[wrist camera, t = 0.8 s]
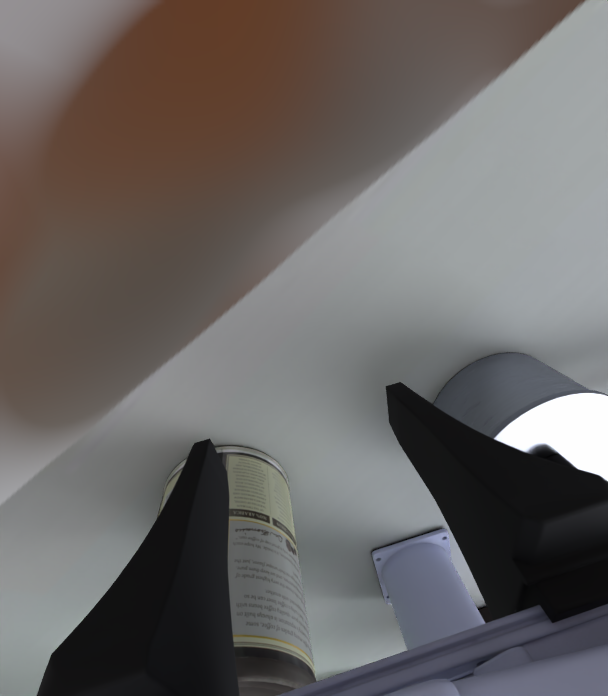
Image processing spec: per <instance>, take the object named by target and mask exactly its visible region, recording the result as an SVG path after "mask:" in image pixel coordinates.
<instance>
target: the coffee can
mask: <svg viewBox="0 0 608 696" xmlns="http://www.w3.org/2000/svg"><path fill="white" fill-rule="evenodd" d="M215 449H216V451H217V453H218V455H219V457H220V459H221V461H222V463H223V465H224V467H225V469H226V471H227V475H228V485H229V534H228V579H229V594H230V607H231V620H232V631H233V641H234V652H235V662H236V670H237V679H238V687H239V696H278V695H280V694H283V693H286V692H289V691H292V690H295V689H298V688H301V687H303V686H306V685H309V684H312V683H315V682H316V677H315V670H314V663H313V656H312V649H311V642H310V634H309V627H308V620H307V613H306V606H305V600H304V593H303V586H302V579H301V571H300V564H299V557H298V551H297V543H296V536H295V529H294V522H293V516H292V509H291V502H290V494H289V481H288V477H287V475H286V473H285V471H284V470H283V468H282V467H281V466H280V465H279V463H277V462H276V461H275V460H274V459H273V458H271V457H270V456H268V455H266V454H264V453H262V452H259V451H257V450H254V449H249V448H244V447H237V446H224V447H216V448H215ZM186 460H187V459H186ZM186 460H184V461H183V462H181V463H180V464H179V465H178V466H177V467H176V468H175V469H174V470H173V471H172V473H171V474H170V476H169V477H168V478H167V481H166V484H165V486H164V491H163V497H162V502H161V505H160V509H159V512H158V516H159V514H160V513H161V511H162V509H163V507H164V505H165V503H166V502H167V500H168V498H169V496H170V494H171V492H172V490H173V488H174V486H175V484H176V482H177V480H178V478H179V476H180V473H181V471H182V469H183V467H184V465H185V463H186ZM158 516H157V518H158ZM156 520H157V519H156Z"/></svg>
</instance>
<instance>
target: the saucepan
mask: <svg viewBox="0 0 608 696" xmlns="http://www.w3.org/2000/svg"><path fill="white" fill-rule="evenodd" d="M433 405H434V406H436V407H437V408H439V409H440V410H442V411H444V412H445V413H447V414H448V415H450V416H452V417H453V418H455V419H457V420H458V421H460V422H462V423H464V424H465V425H467V426H469V427H471V428H473V429H475V430H477V431H478V432H480V433H483V434H485V435H487V436H489V437H491V438H493V439H495V440H497V441H500V442H502V443H504V444H507V445H509V446H512V447H514V448H517V449H519V450H522V451H524V452H527V453H529V454H532V455H535V456H538V457H541V458H544V459H547V460H550V461H553V462H556V463H559V464H562V465H565V466H569V467H572V468H576V469H580V470H583V471H587V472H590V473H594V474H598V475H600V476H601V477H602V478H604V479H605V480H606V481H607V480H608V395H607V394H605V393H602V392H598V391H593V390H589V389H587V388H586V387H584V386H582V385H580V384H579V383H577V382H575V381H574V380H572V379H570V378H568V377H567V376H565V375H563V374H562V373H560V372H558V371H556V370H555V369H553V368H551V367H550V366H548V365H546V364H544V363H543V362H541V361H539V360H538V359H536V358H534V357H532V356H530V355H526V354H522V353H500V354H495V355H491V356H488V357H485V358H483V359H480V360H478V361H476V362H474V363H472V364H470V365H469V366H467V367H466V368H464V369H463V370H461V371H460V372H459V373H457V374H456V375H455V376H454V377H453V378H452V379H451V380H450V381H449V382H448V383H447V384H446V385H445V387H444V388H443V389H442V391H441V392H440V393H439V395H438V397H437V398H436V400H435V402H434V404H433Z"/></svg>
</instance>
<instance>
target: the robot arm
mask: <svg viewBox="0 0 608 696" xmlns="http://www.w3.org/2000/svg"><path fill="white" fill-rule="evenodd" d="M386 394H387V404H388V414H389V423H390V425H391V427H392V429H393V431H394V434H395V436H396V438H397V440H398V442H399V444H400V445H401V447H402V449H403V450H404V452H405V453H406V455H407V457H408V458H409V460H410V461H411V463H412V464H413V466H414V467H415V469H416V471H417V472H418V474H419V475H420V477H421V478H422V480H423V481H424V483H425V484H426V486H427V488H428V489H429V491H430V492H431V494H432V496H433V497H434V499H435V501H436V502H437V504H438V506H439V508H440V510H441V512H442V514H443V516H444V518H445V520H446V522H447V524H448V526H449V528H450V530H451V532H452V534H453V536H454V538H455V540H456V542H457V544H458V546H459V548H460V550H461V552H462V554H463V556H464V558H465V560H466V562H467V564H468V566H469V568H470V571H471V573H472V575H473V577H474V579H475V581H476V583H477V585H478V588H479V590H480V592H481V594H482V596H483V599H484V601H485V603H486V605H487V607H488V610H489V612H490V614H491V616H492V619H493V621H491V622H488V623H485V622H484V620H483V618H482V616H481V614H480V612H479V611H478V609H477V607H476V605H475V603H474V601H473V600H472V598H471V596H470V594H469V592H468V591H467V589H466V587H465V585H464V583H463V581H462V580H461V578H460V576H459V574H458V572H457V570H456V569H455V567H454V565H453V563H452V561H451V552H450V543H449V534H448V531H447V530H446V529H440V530H437V531H434V532H431V533H427V534H424V535H421V536H418V537H415V538H412V539H409V540H406V541H403V542H400V543H396V544H393V545H390V546H387V547H384V548H381V549H378V550H375V551H373V552H372V557H373V561H374V565H375V568H376V572H377V575H378V579H379V582H380V586H381V589H382V593H383V596H384V600H385V603H386V604H392V607H393V609H394V612H395V615H396V618H397V621H398V624H399V627H400V630H401V633H402V635H403V638H404V641H405V644H406V647H407V651H405V652H402V653H399V654H396V655H393V656H390V657H387V658H384V659H381V660H379V661H376V662H373V663H370V664H367V665H364V666H361V667H358V668H355V669H353V670H350V671H347V672H344V673H341V674H338V675H335V676H332V677H329V678H327V679H324V680H321V681H318V682H315V683H312V684H309V685H306V686H303V687H301V688H298V689H295V690H292V691H289V692H286V693H283V694H280V695H278V696H608V481H606V480H605V479H604V478H602V477H601V476H600V475H598V474H594V473H590V472H587V471H583V470H580V469H576V468H572V467H569V466H565V465H562V464H559V463H556V462H553V461H550V460H547V459H544V458H541V457H538V456H535V455H532V454H529V453H527V452H524V451H522V450H519V449H517V448H514V447H512V446H509V445H507V444H504V443H502V442H500V441H497V440H495V439H493V438H491V437H489V436H487V435H485V434H483V433H480V432H478V431H477V430H475V429H473V428H471V427H469V426H467V425H465V424H464V423H462V422H460V421H458V420H457V419H455V418H453V417H452V416H450V415H448V414H447V413H445V412H444V411H442V410H440V409H439V408H437V407H436V406H434V405H433V404H431V403H430V402H428V401H427V400H425V399H424V398H422V397H421V396H420V395H418V394H417V393H415V392H414V391H412V390H411V389H410V388H408V387H407V386H406V385H404V384H403V383H401V382H399V383H395V384H392V385H389V386H386ZM228 534H229V485H228V475H227V471H226V469H225V467H224V465H223V463H222V461H221V459H220V457H219V455H218V453H217V451H216V449H215V447H214V446H213V444H212V442H211V440H210V439H207V440H204V441H200V442H197V443H194V445H193V447H192V449H191V451H190V454H189V456H188V458H187V460H186V463H185V465H184V467H183V469H182V471H181V473H180V476H179V478H178V480H177V482H176V484H175V486H174V488H173V490H172V492H171V494H170V496H169V498H168V500H167V502H166V503H165V505H164V507H163V509H162V511H161V513H160V514H159V516H158V518H157V520H156V521H155V523H154V525H153V527H152V528H151V530H150V531H149V533H148V535H147V536H146V538H145V539H144V541H143V543H142V544H141V546H140V547H139V549H138V550H137V552H136V553H135V554H134V556H133V557H132V559H131V560H130V562H129V563H128V564H127V566H126V567H125V568H124V570H123V571H122V573H121V574H120V575H119V577H118V578H117V579H116V581H115V582H114V583H113V584H112V586H111V587H110V588H109V589H108V591H107V592H106V593H105V595H104V596H103V597H102V598H101V599H100V601H99V602H98V603H97V604H96V605H95V607H94V608H93V609H92V610H91V611H90V612H89V614H88V615H87V616H86V617H85V618H84V619H83V621H82V622H81V623H80V624H79V625H78V626H77V627H76V628H75V629H74V630H73V632H72V633H71V634H70V635H69V636H68V637H67V638H66V639H65V640H64V641H63V643H62V644H61V645H60V646H59V647H58V648H57V649H56V650H55V651H54V652H53V653H52V655H51V657H50V660H49V663H48V665H47V668H46V670H45V673H44V676H43V679H42V682H41V685H40V688H39V691H38V694H37V696H239V687H238V679H237V670H236V662H235V652H234V641H233V631H232V620H231V607H230V594H229V579H228Z"/></svg>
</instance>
